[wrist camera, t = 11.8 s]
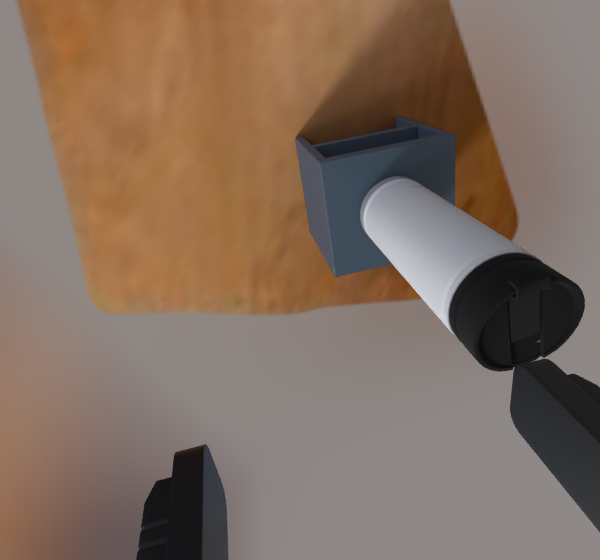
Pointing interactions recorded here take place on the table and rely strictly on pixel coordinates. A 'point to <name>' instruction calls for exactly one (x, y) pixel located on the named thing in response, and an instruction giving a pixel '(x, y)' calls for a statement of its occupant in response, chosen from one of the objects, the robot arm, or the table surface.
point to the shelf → (368, 184)
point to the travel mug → (472, 275)
